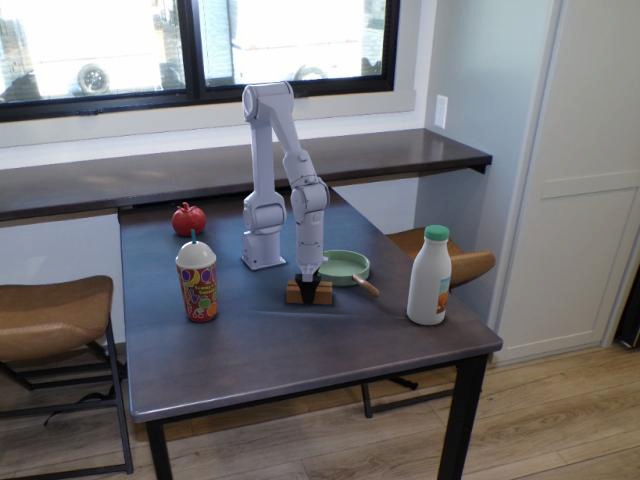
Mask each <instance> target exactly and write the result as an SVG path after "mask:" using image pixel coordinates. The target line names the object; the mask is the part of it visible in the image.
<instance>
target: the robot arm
mask: <svg viewBox="0 0 640 480" xmlns="http://www.w3.org/2000/svg"><path fill="white" fill-rule="evenodd" d="M241 97H242V98H241V99H242V112H243V113H242V115H243V121H244V122H245V123H249V129H250V143H251V159H252V175H253V176H252V177H253V191H252V193H250V194H249V195H248V196H247V197H245V199H244V200H243V212H242V219H243V223H244V224H243V225H244V226H245V228H246V229H247V230H248V231H245V232H243V233H242V234H241V250H242V256H241V259H242V261H243V262H244V263H245V264H246V265H247V266H248V267H249V269H250V270H252V271H256V270H260V269H262V268H267V267H268V268H269V267H272V266H277V265H281V264H286V263H287V261H286V260H285V258H283V257H282V256H281V234H280V233H281V231H280V230H282V229H283V226H284V225H285V224H286V222H287V218H288V214H287V209H286V205H285V198H284V197H283V196H282V195H281V194H280V193H279V192H277V191H276V189H275V171H274V170H275V169H274V144H273V132H274V134H275V136H276V138H277V141H278V142H279V144H280V148H281V149H282V151H283V154H284V157H283V159H282V162H281V163H282V166H283V169H284V171H285V174H286V177H287V180H288V183H289V185H290V188H291V195H290V204H291V207H292V210H293V211H292V212H293V217H294V218H293V219H294V220H295V228H296V229H295V244H296V245H295V249H296V250H295V252H296V253H295V258H294V259H295V260H294V261H295V264H296V266H297V267H298V268H299V271H300V272H301V273H295V275H294V281H295V282H296V283H297V285H298V286H299V289H300V292H301V296H302V301H303V303H302V304H304V305H313V304H314V303H313V302H314V298H315V293H316V289H317V287H318V285H319V283H320V282H321V277H322V276H317V275H318V271H319V268H320V266H321V265H322V264H323V263H328V257H323V252H324V219H325V210H327V209H328V208H329V206H330V202H331V195H330V191H329V187H328V185H327V184H326V182H324V181H323V180H322V177H320V176H318V175H317V172H316V170H315V167H314V164H313V161H312V159H311V156H310V154H309V152H308V150H306V149H304V148H302V147H301V142H300V139H299V136H298V133H297V129H296V125H295V121H294V117H293V111H294V107H295V96H294V89H293V87H292V86H291V84H290V83H289V81H286V80H283V81H281V82H271V83H260V84H247V85H245V87H244V90H243V92H242V96H241Z"/></svg>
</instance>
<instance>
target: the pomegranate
mask: <svg viewBox="0 0 640 480" xmlns="http://www.w3.org/2000/svg"><path fill="white" fill-rule="evenodd" d="M182 205H183V206H184V207H181V206H177V210H176V212H174V214H173V216H172V219H171V226H172V228H173V231H174V232H175V233H176V234H177V235H178V236H182V237H192V234H191V230H192V229H194V232H195V235H198V234H200V233H202V232H203V231H204V230H205V227H206V225H207V218H206V214H205V213H204V211H203V210H202V209H201V208H198V207H199V206H198V205H193V206H191V207H190V206H189V205H190V204H188V203H187V202H182Z"/></svg>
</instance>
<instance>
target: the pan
mask: <svg viewBox="0 0 640 480" xmlns="http://www.w3.org/2000/svg"><path fill="white" fill-rule="evenodd" d="M323 257H328V263H323V264H322V265H321V266H320V268H319V271H318V275H317V276H322V277H321V282H332V286H335V287H347V286H354V285H358V284H357V283H356V282H355V281H353V279H352V276H353V275H354V274H358V275H360V276H361V277H362V278H363V279H365V280H367V279H368V277H370V270H371V268H370V267H371V262H370V260H369V258H368V257H366V256H365V255H364V254H361V253H359V252H356V251H351V250H346V249H330V250H325V251H324V250H323Z"/></svg>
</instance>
